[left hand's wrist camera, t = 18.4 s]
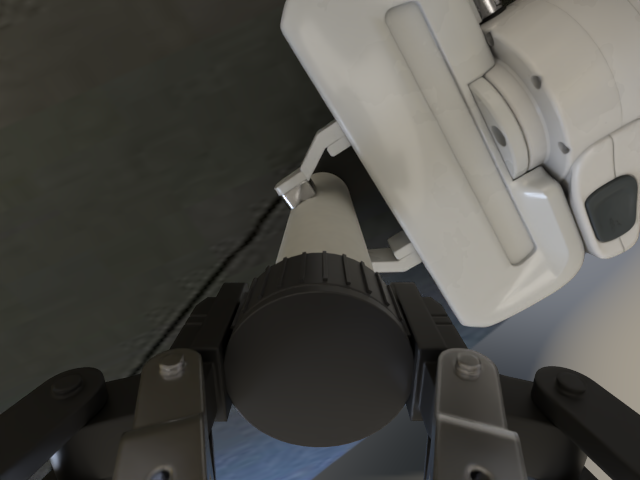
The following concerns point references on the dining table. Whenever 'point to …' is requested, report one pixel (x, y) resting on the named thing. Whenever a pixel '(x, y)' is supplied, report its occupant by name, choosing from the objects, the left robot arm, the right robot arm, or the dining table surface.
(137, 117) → the dining table surface
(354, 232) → the jar
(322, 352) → the lid
